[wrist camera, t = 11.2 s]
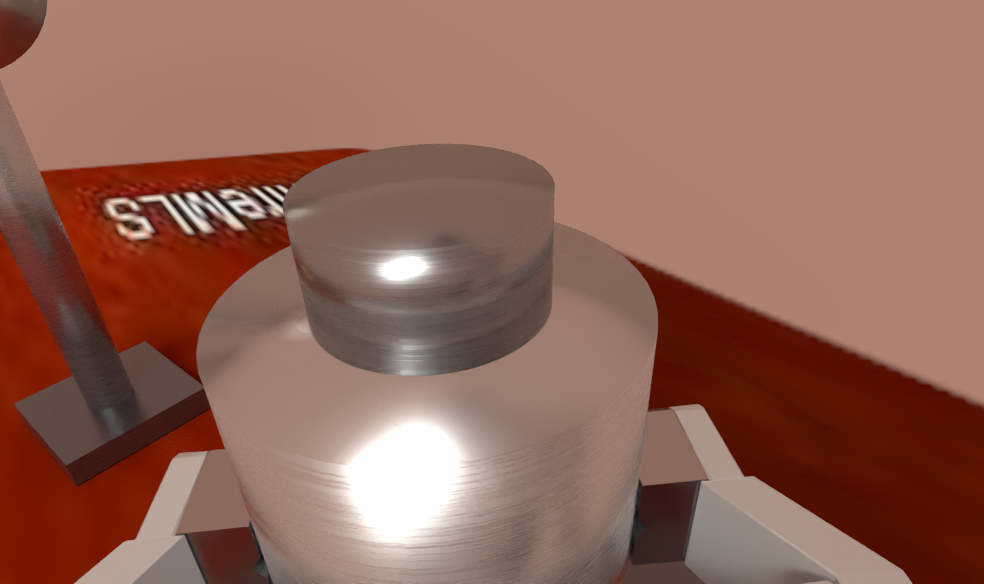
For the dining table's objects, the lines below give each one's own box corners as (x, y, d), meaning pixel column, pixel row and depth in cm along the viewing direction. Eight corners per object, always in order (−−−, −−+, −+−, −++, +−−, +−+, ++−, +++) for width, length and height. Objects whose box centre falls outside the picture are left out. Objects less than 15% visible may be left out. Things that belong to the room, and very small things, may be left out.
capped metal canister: (574, 573, 16) (600, 107, 10) (641, 858, 11) (773, 294, 5) (350, 598, 15) (232, 129, 9) (320, 904, 10) (38, 355, 5)
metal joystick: (24, 423, 24) (-301, -143, 15) (152, 359, 27) (-48, -139, 18) (76, 486, 21) (-281, -162, 12) (212, 407, 25) (13, -153, 15)
